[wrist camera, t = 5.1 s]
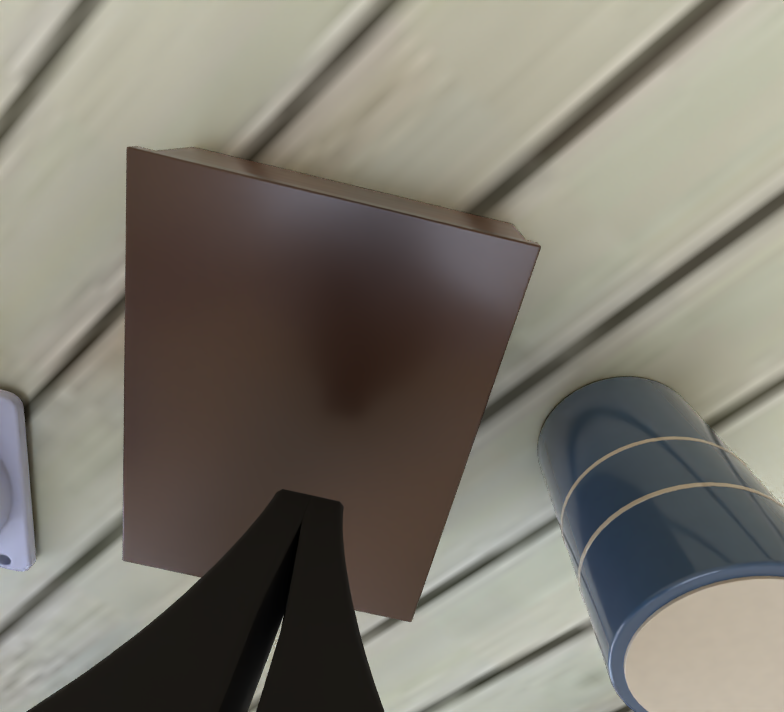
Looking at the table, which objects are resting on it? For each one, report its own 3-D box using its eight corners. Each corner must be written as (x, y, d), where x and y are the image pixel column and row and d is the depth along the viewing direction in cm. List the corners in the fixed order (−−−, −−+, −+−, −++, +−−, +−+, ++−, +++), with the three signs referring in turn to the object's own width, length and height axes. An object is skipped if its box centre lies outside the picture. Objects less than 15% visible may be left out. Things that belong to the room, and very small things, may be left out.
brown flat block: (168, 494, 19) (121, 561, 16) (188, 141, 14) (125, 145, 11) (414, 547, 19) (411, 623, 16) (518, 221, 14) (541, 246, 11)
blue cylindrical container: (409, 535, 15) (731, 884, 9) (458, 381, 13) (916, 705, 7) (575, 463, 20) (841, 650, 14) (627, 347, 18) (962, 512, 12)
